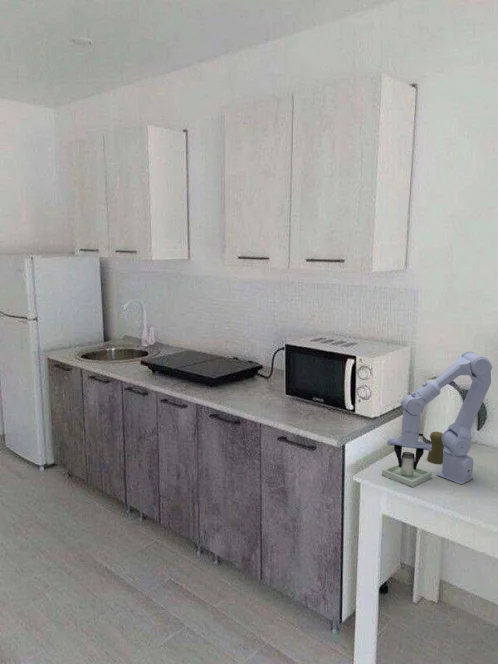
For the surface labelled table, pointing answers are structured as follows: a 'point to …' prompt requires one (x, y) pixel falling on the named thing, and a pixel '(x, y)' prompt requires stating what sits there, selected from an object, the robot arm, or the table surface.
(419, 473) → the tray
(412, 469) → the salt shaker
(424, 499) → the table surface
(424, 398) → the robot arm
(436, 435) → the cork
